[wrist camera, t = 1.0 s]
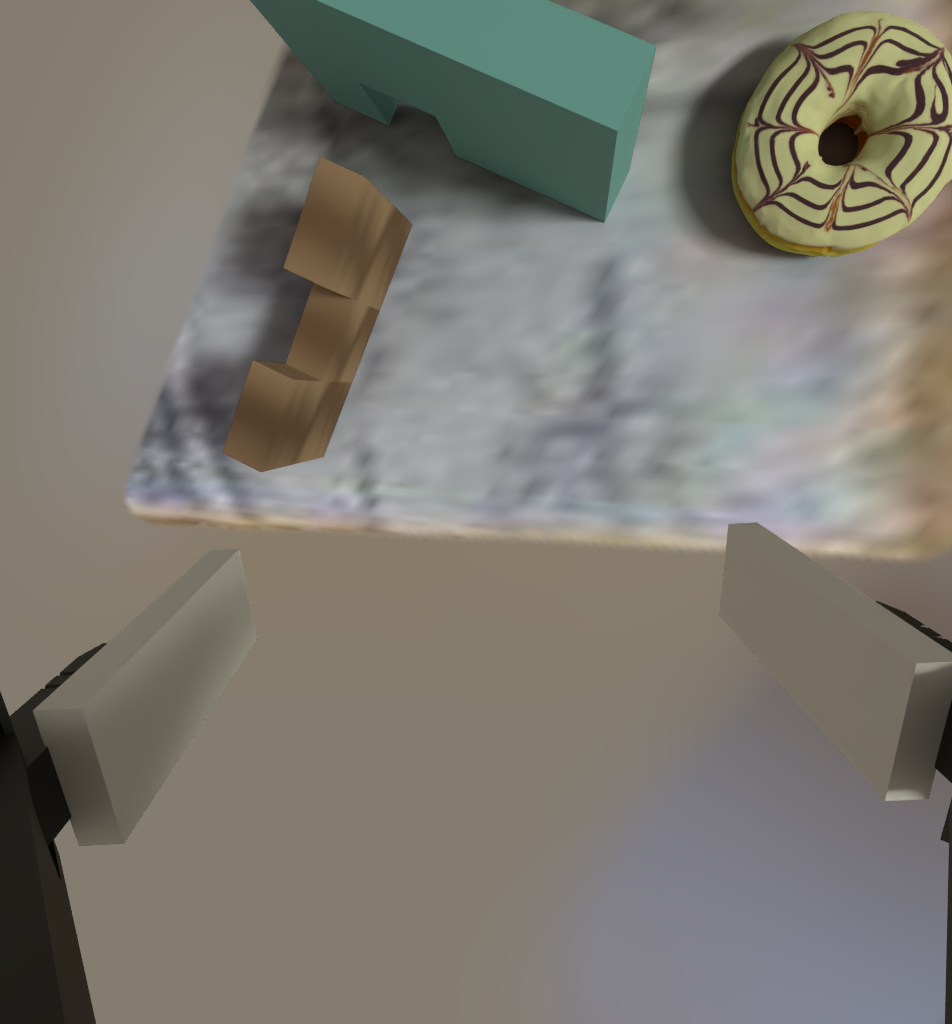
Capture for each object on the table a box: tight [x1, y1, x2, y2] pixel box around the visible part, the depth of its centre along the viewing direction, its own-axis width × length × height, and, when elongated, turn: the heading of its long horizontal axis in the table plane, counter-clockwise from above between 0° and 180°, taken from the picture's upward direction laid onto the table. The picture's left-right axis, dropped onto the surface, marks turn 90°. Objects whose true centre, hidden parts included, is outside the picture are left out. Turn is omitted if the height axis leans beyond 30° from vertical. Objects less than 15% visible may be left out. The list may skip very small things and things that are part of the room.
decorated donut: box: [731, 11, 952, 257], centre depth 29 cm, size 10×11×4 cm
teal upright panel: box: [250, 0, 656, 222], centre depth 28 cm, size 18×3×12 cm, turn 65°
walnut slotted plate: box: [222, 157, 412, 472], centre depth 33 cm, size 16×2×8 cm, turn 155°
